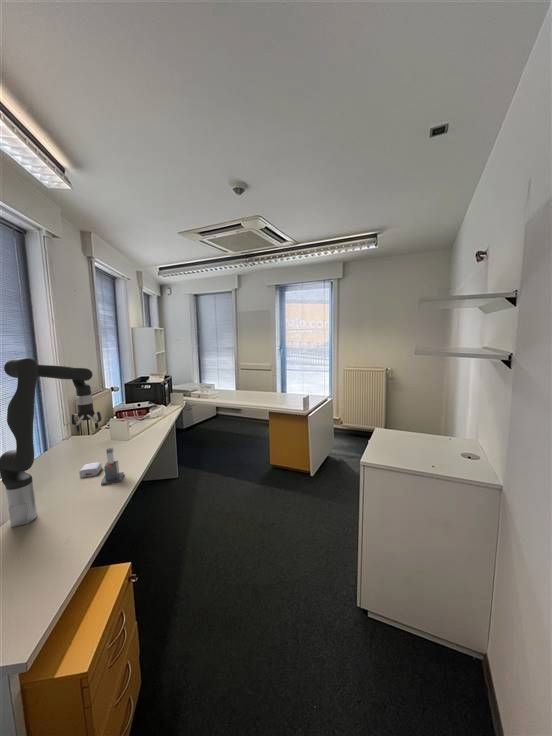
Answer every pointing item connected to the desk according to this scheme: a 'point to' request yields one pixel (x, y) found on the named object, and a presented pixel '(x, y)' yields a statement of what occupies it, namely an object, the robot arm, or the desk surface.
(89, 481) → the desk surface
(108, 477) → the stand
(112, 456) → the column
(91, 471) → the charger
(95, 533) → the desk surface
